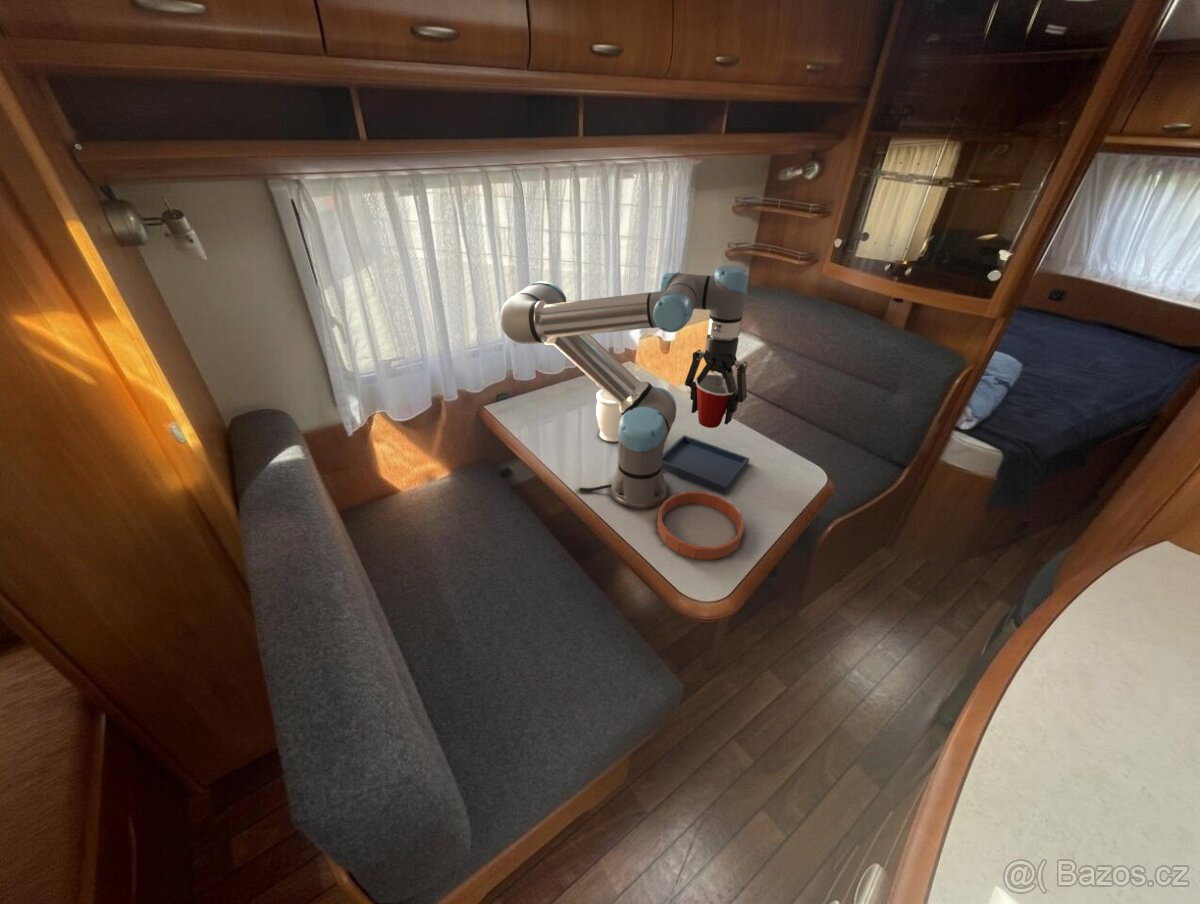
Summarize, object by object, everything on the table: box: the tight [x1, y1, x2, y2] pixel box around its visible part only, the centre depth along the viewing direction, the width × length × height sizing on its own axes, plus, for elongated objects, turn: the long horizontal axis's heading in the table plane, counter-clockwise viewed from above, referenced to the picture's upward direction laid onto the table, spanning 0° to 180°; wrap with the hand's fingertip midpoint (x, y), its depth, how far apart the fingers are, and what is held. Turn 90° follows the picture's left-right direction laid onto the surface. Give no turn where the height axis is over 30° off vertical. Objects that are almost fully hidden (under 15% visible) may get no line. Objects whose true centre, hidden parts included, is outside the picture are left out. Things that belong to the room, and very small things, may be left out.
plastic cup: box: [694, 373, 738, 429], centre depth 125 cm, size 11×11×12 cm
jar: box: [595, 388, 622, 443], centre depth 151 cm, size 11×10×15 cm
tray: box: [662, 434, 750, 495], centre depth 141 cm, size 22×17×3 cm
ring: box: [656, 491, 745, 561], centre depth 119 cm, size 21×21×4 cm
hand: (711, 416), depth 128 cm, fingers closed on plastic cup, 9 cm apart
